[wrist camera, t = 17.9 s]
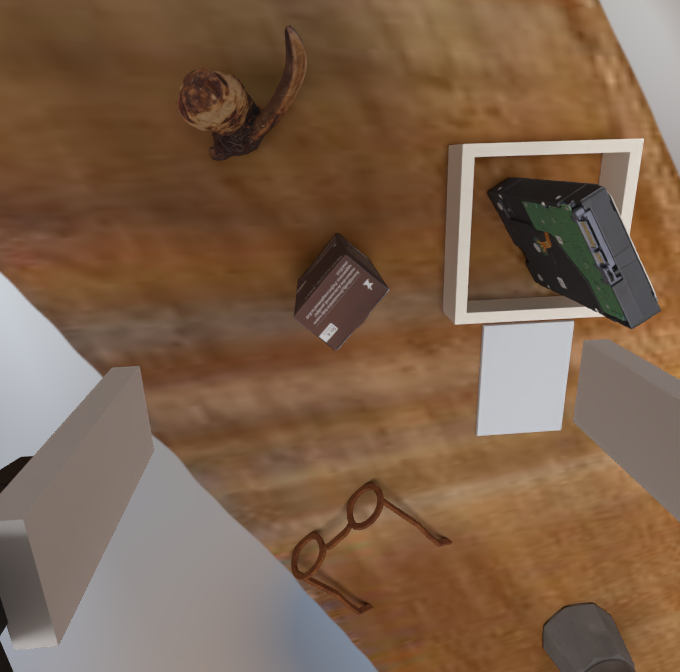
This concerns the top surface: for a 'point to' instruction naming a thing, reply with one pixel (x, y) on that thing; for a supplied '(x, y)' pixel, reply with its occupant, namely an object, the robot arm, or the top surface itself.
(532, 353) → the mat
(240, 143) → the bone fish hook
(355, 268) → the box
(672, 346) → the top surface
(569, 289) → the disk drive
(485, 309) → the storage box
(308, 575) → the glasses
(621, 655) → the coffeepot
